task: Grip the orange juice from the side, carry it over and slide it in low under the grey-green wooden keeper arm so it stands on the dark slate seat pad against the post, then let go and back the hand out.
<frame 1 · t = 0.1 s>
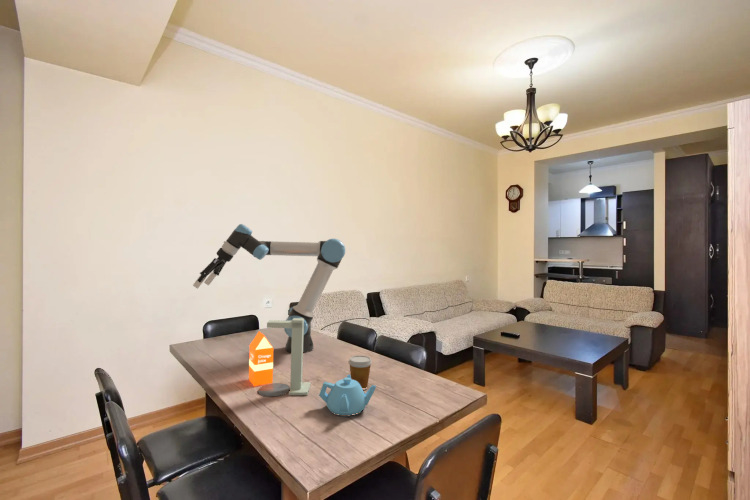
hand: (200, 285, 174), 36 cm above the table, tool tilted 35°, fingers open, 13 cm apart
orange juice: (260, 381, 145), on the table
teapot: (347, 409, 123), on the table
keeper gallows: (274, 390, 136), on the table
disposable coffee cup: (359, 388, 141), on the table
seat pad: (274, 390, 136), on the table
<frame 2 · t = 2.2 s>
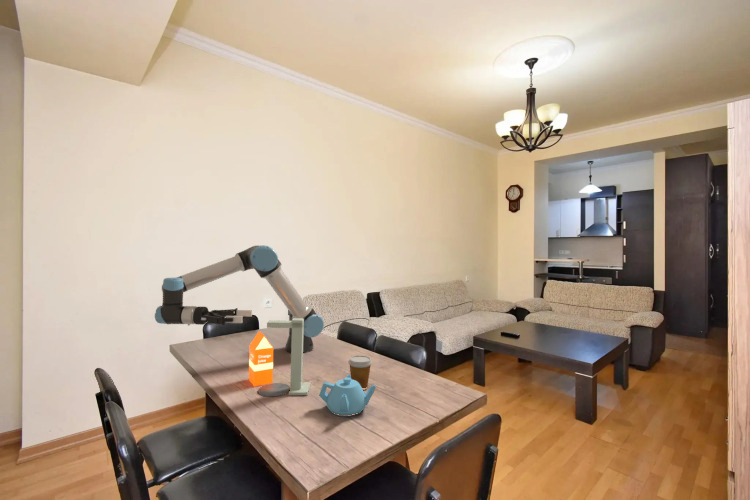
hand: (247, 316, 149), 26 cm above the table, tool horizontal, fingers open, 13 cm apart
nothing on the table moved.
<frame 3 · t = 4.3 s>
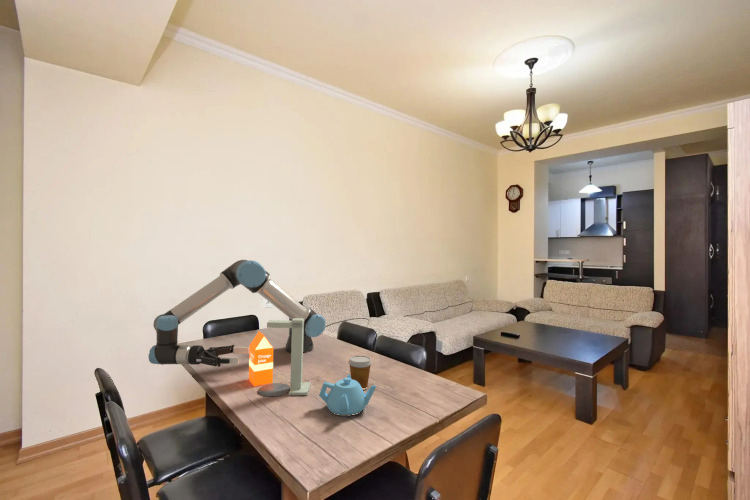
hand: (244, 355, 144), 11 cm above the table, tool horizontal, fingers open, 13 cm apart
nothing on the table moved.
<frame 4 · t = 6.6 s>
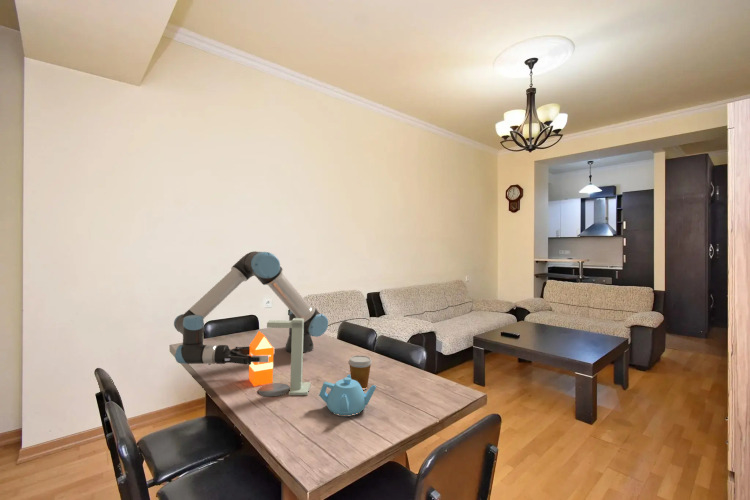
hand: (271, 354, 146), 11 cm above the table, tool horizontal, fingers closed on orange juice, 10 cm apart
orange juice: (260, 381, 145), on the table, touching gripper
everything else where it was.
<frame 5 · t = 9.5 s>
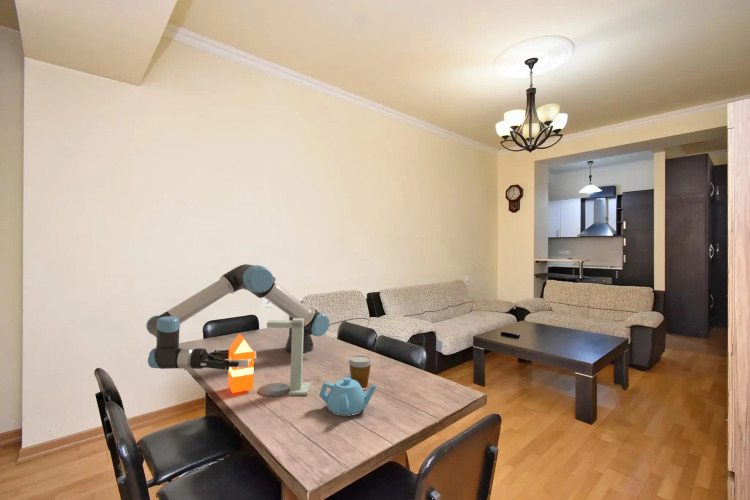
hand: (252, 358, 136), 12 cm above the table, tool horizontal, fingers closed on orange juice, 10 cm apart
orange juice: (240, 387, 136), point 1 cm above the table, touching gripper
everything else where it was.
when the fingers open (12 cm above the table, at t = 12.5 s): orange juice stays where it is, resting on seat pad.
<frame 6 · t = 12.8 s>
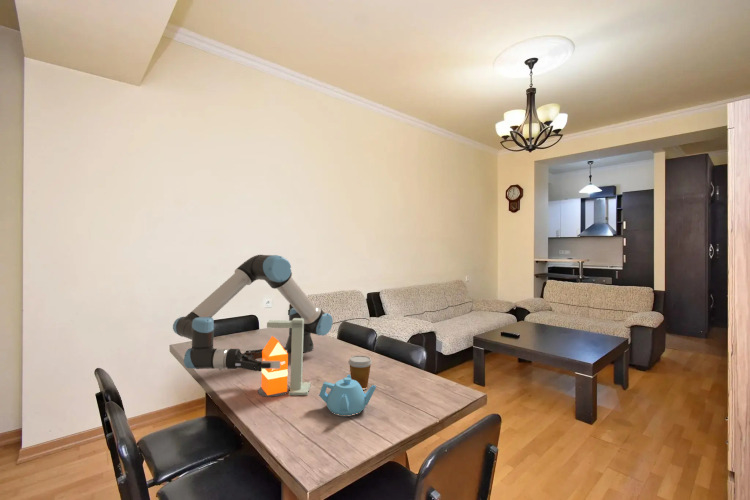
hand: (283, 358, 137), 12 cm above the table, tool horizontal, fingers open, 13 cm apart
orange juice: (274, 389, 136), resting on seat pad
everything else where it was.
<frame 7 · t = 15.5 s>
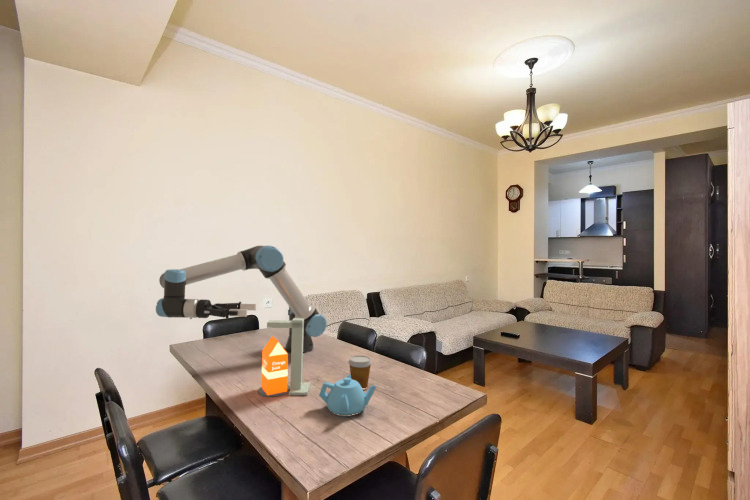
hand: (251, 310, 144), 30 cm above the table, tool horizontal, fingers open, 13 cm apart
nothing on the table moved.
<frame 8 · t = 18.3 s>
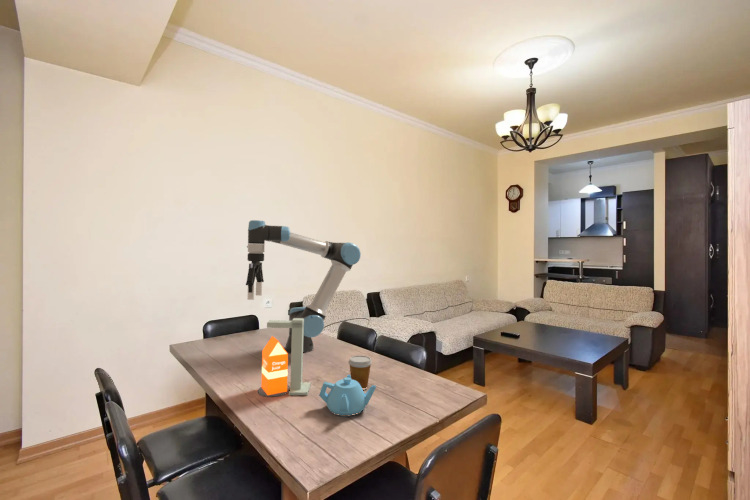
hand: (254, 297, 166), 32 cm above the table, tool pointing down, fingers open, 13 cm apart
nothing on the table moved.
at the end: orange juice 0.2 cm from the seat pad (horizontally); orange juice tilted 0°; the gripper is holding nothing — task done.
